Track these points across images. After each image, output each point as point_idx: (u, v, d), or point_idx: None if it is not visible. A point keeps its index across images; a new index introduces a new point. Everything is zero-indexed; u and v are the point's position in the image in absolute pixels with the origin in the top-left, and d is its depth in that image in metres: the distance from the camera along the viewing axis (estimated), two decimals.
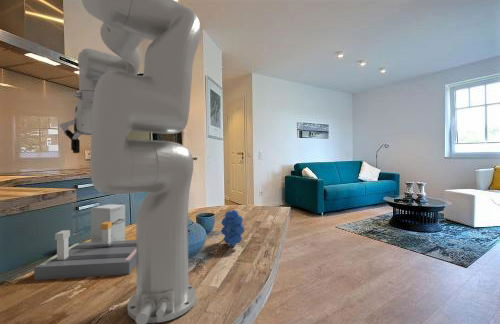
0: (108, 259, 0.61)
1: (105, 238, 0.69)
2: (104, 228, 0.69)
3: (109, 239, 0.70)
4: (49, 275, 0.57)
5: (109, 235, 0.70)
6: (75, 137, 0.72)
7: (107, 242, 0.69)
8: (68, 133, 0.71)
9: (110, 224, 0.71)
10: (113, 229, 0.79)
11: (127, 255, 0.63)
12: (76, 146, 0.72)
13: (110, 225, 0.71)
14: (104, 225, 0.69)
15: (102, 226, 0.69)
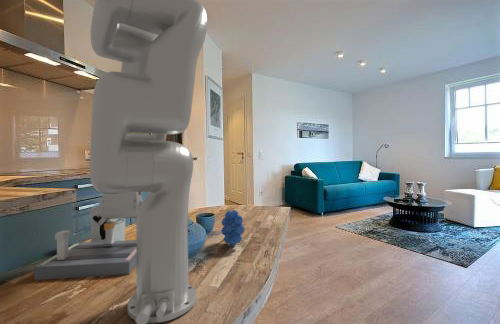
0: (108, 259, 0.61)
1: (108, 237, 0.69)
2: (107, 228, 0.69)
3: (112, 239, 0.70)
4: (49, 275, 0.57)
5: (112, 235, 0.70)
6: None
7: (110, 242, 0.69)
8: None
9: (113, 224, 0.71)
10: None
11: (127, 255, 0.63)
12: None
13: (113, 225, 0.71)
14: (107, 225, 0.69)
15: (105, 226, 0.69)
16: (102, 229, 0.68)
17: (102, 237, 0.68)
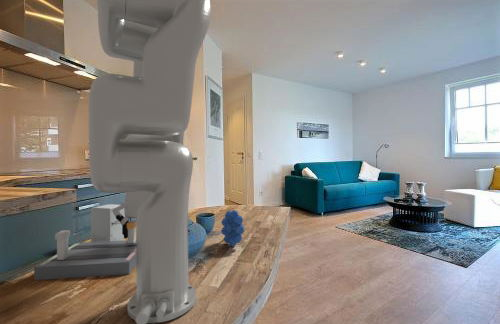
0: (108, 259, 0.61)
1: (130, 237, 0.70)
2: (130, 227, 0.70)
3: (134, 238, 0.71)
4: (49, 275, 0.57)
5: (134, 234, 0.71)
6: None
7: (132, 241, 0.70)
8: None
9: (135, 223, 0.72)
10: (113, 229, 0.79)
11: (127, 255, 0.63)
12: None
13: (135, 224, 0.72)
14: (130, 224, 0.70)
15: (128, 225, 0.70)
16: (125, 228, 0.69)
17: (125, 236, 0.69)
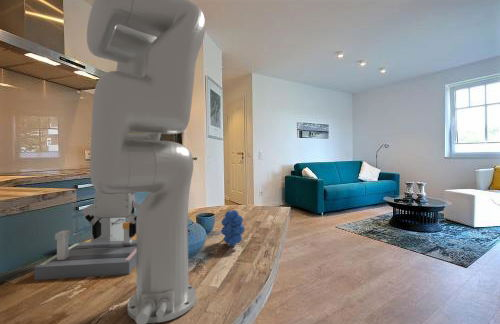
0: (108, 259, 0.61)
1: (126, 237, 0.70)
2: (126, 227, 0.69)
3: (130, 238, 0.71)
4: (49, 275, 0.57)
5: None
6: None
7: (128, 241, 0.70)
8: None
9: None
10: (113, 229, 0.79)
11: (127, 255, 0.63)
12: None
13: None
14: (126, 224, 0.69)
15: (124, 225, 0.69)
16: (94, 228, 0.68)
17: (94, 236, 0.68)
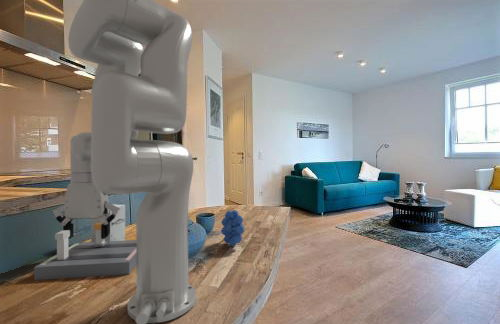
0: (108, 259, 0.61)
1: (98, 238, 0.69)
2: (97, 228, 0.69)
3: (103, 239, 0.70)
4: (49, 275, 0.57)
5: None
6: None
7: (101, 242, 0.69)
8: None
9: None
10: (113, 229, 0.79)
11: (127, 255, 0.63)
12: None
13: None
14: (97, 225, 0.69)
15: (95, 226, 0.68)
16: (65, 229, 0.67)
17: None
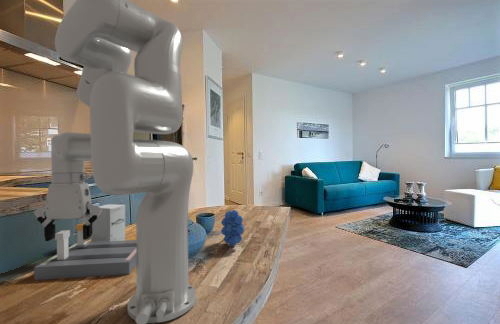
0: (108, 259, 0.61)
1: (80, 239, 0.68)
2: (79, 229, 0.68)
3: (85, 240, 0.69)
4: (49, 275, 0.57)
5: None
6: None
7: (82, 243, 0.69)
8: None
9: None
10: (113, 229, 0.79)
11: (127, 255, 0.63)
12: None
13: None
14: (79, 226, 0.68)
15: (77, 227, 0.68)
16: (46, 230, 0.67)
17: (46, 239, 0.67)
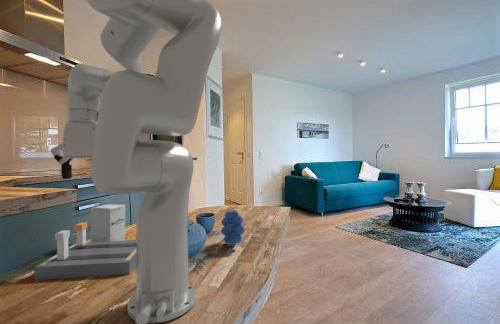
0: (108, 259, 0.61)
1: (79, 239, 0.68)
2: (78, 229, 0.68)
3: (84, 240, 0.69)
4: (49, 275, 0.57)
5: (84, 236, 0.69)
6: None
7: (81, 243, 0.68)
8: None
9: (85, 225, 0.70)
10: (113, 229, 0.79)
11: (127, 255, 0.63)
12: None
13: (85, 226, 0.70)
14: (78, 226, 0.68)
15: (76, 227, 0.68)
16: (63, 168, 0.67)
17: (63, 176, 0.67)
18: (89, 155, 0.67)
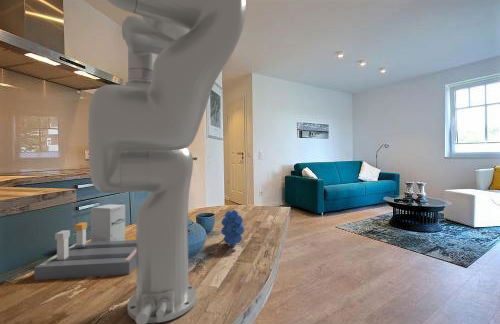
0: (108, 259, 0.61)
1: (79, 239, 0.68)
2: (78, 229, 0.68)
3: (84, 240, 0.69)
4: (49, 275, 0.57)
5: (84, 236, 0.69)
6: None
7: (81, 243, 0.68)
8: None
9: (85, 225, 0.70)
10: (113, 229, 0.79)
11: (127, 255, 0.63)
12: None
13: (85, 226, 0.70)
14: (78, 226, 0.68)
15: (76, 227, 0.68)
16: None
17: None
18: None
